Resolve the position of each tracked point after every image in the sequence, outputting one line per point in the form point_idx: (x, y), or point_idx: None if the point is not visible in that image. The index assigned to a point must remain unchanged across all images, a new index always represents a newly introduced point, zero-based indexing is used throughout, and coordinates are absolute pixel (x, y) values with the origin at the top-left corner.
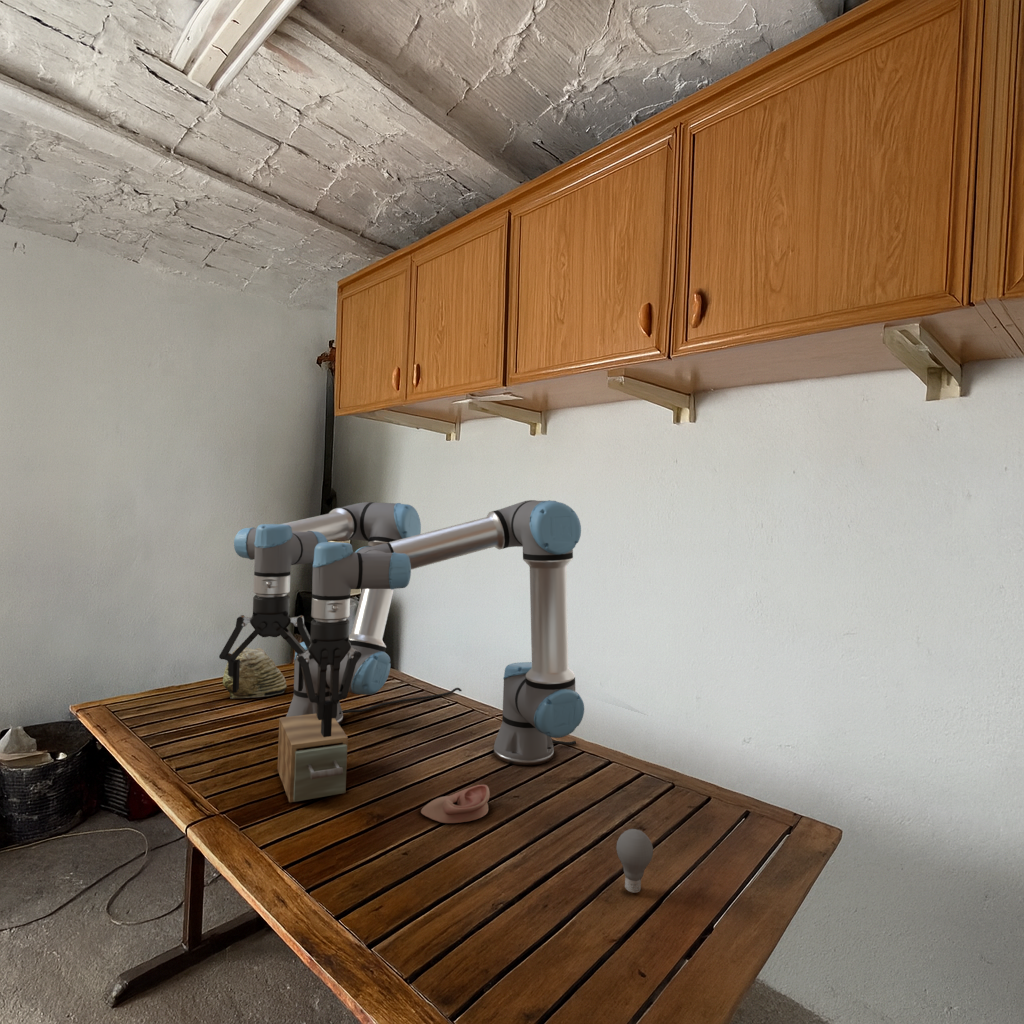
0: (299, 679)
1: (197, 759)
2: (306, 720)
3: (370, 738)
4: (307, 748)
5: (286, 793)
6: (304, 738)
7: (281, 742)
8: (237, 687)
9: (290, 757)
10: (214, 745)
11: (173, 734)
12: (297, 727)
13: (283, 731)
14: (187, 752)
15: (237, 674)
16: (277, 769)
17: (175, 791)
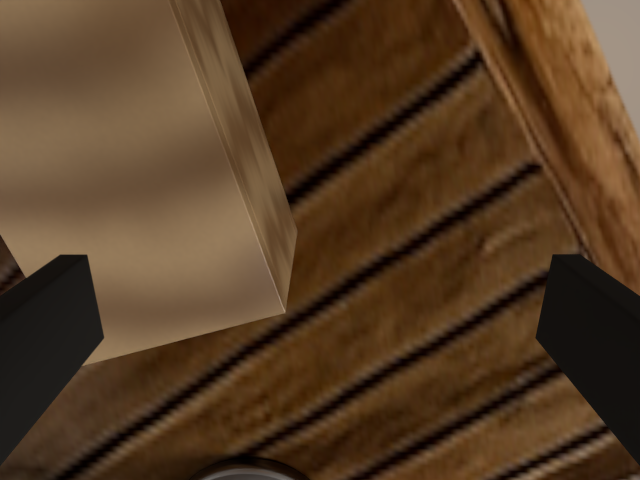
0: (19, 300)
1: (531, 319)
2: (156, 272)
3: (74, 412)
4: None
5: (235, 48)
6: (97, 20)
7: (267, 209)
8: (557, 305)
9: None
10: (496, 400)
11: (607, 470)
12: (174, 186)
13: (244, 187)
14: None
15: (636, 359)
16: (297, 231)
17: (571, 112)
